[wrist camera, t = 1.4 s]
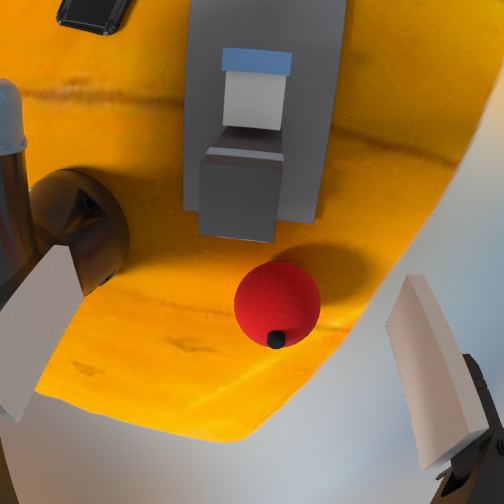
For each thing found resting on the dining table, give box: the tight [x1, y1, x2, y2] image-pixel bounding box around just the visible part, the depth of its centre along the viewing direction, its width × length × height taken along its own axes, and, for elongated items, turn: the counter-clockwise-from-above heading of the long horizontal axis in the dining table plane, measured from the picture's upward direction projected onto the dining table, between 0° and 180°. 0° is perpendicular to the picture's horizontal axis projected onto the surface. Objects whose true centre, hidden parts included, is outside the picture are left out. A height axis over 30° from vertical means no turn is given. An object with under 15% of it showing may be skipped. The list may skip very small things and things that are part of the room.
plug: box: [199, 126, 284, 243], centre depth 23 cm, size 5×5×12 cm
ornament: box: [234, 262, 320, 349], centre depth 33 cm, size 9×9×10 cm
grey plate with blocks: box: [183, 0, 347, 242], centre depth 22 cm, size 13×26×8 cm, turn 176°
